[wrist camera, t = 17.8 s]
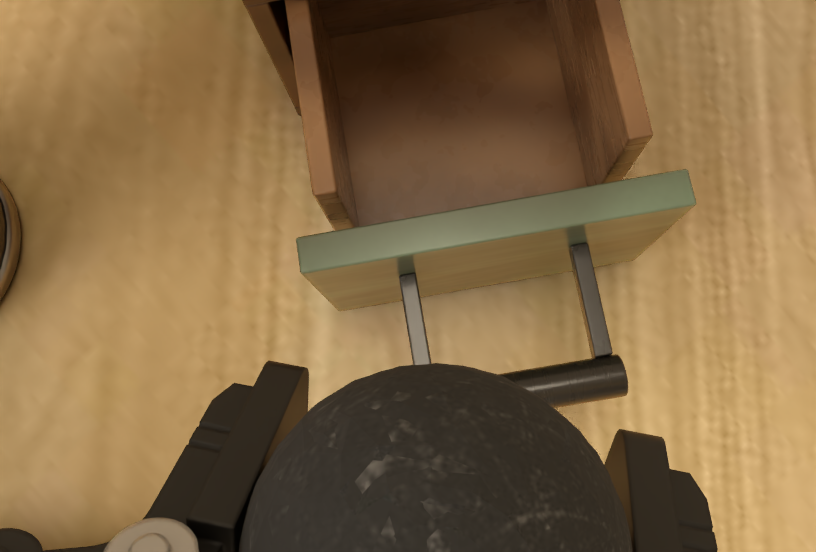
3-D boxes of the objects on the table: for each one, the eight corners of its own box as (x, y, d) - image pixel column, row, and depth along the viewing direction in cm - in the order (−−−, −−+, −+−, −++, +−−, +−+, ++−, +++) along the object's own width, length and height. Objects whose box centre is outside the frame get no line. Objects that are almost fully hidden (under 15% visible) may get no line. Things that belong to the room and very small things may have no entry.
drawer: (665, 389, 29) (742, 376, 21) (357, 441, 29) (324, 447, 21) (570, -9, 32) (608, -142, 25) (298, 41, 33) (251, -75, 25)
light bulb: (277, 475, 18) (79, 537, 8) (461, 342, 18) (486, 248, 9) (409, 680, 17) (365, 1036, 7) (602, 534, 17) (812, 676, 8)
